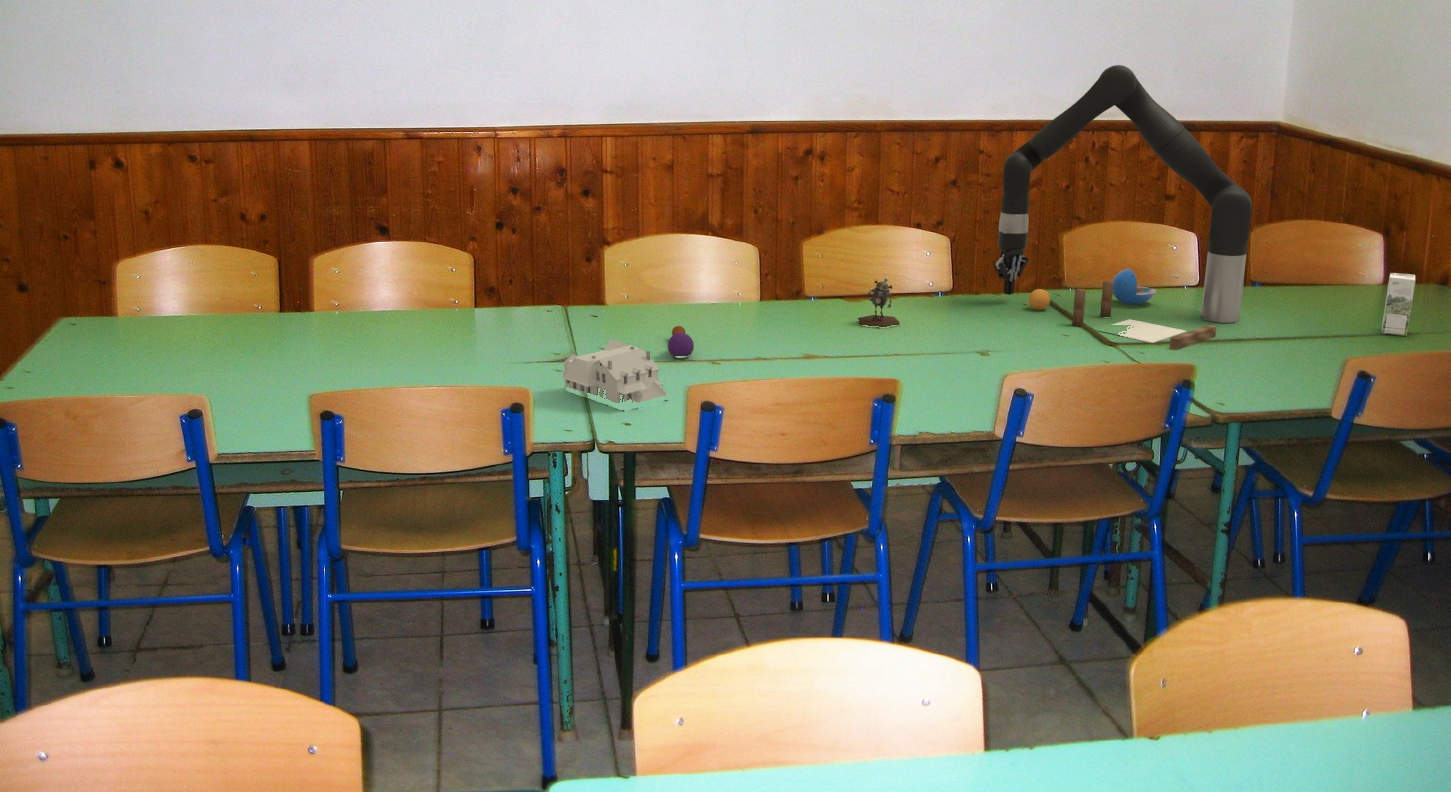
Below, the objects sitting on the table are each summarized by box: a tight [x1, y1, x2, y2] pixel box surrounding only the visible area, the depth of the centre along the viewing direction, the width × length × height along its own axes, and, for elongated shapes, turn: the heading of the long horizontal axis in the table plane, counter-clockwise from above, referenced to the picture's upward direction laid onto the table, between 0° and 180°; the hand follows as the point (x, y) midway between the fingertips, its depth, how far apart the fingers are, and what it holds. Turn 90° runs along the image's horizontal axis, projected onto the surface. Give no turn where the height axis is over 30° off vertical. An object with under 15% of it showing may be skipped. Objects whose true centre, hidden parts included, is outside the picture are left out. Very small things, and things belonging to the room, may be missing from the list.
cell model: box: [1111, 268, 1157, 306], centre depth 369 cm, size 10×12×10 cm
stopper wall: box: [1169, 324, 1217, 350], centre depth 332 cm, size 18×2×2 cm, turn 133°
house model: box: [562, 339, 667, 403], centre depth 290 cm, size 19×20×10 cm
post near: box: [1072, 288, 1087, 327], centre depth 347 cm, size 3×3×9 cm
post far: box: [1099, 281, 1114, 318], centre depth 355 cm, size 3×3×9 cm
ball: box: [1028, 288, 1051, 311], centre depth 363 cm, size 6×6×6 cm
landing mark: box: [1111, 318, 1188, 344], centre depth 342 cm, size 16×16×1 cm
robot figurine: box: [857, 276, 900, 327], centre depth 347 cm, size 11×9×12 cm
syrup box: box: [1381, 272, 1416, 337], centre depth 340 cm, size 6×6×14 cm
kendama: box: [667, 325, 695, 357], centre depth 325 cm, size 6×6×20 cm
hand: (1008, 293), depth 369 cm, fingers closed
